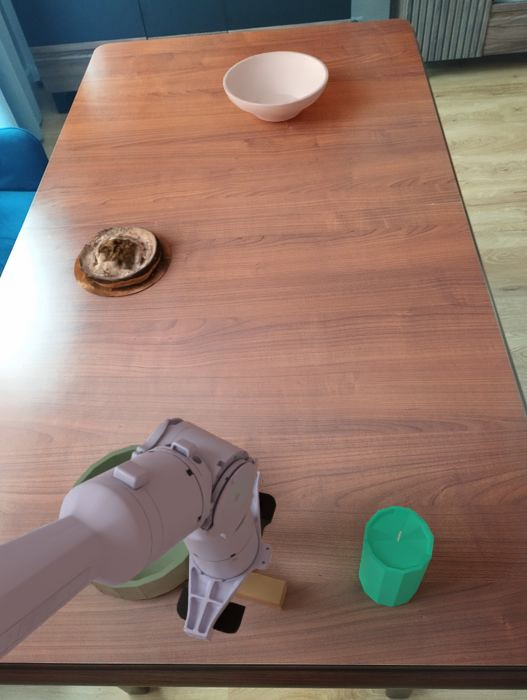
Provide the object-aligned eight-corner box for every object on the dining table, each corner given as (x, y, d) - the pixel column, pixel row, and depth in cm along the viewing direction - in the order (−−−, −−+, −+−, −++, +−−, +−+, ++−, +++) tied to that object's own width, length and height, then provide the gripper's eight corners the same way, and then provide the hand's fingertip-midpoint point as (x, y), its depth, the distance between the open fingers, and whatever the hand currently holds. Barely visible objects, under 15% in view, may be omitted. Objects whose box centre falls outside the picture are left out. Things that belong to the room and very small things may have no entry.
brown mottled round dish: (187, 241, 92) (182, 220, 89) (138, 308, 84) (130, 288, 81) (110, 221, 97) (102, 201, 93) (56, 283, 89) (46, 263, 85)
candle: (382, 619, 56) (394, 582, 47) (346, 565, 60) (350, 520, 50) (432, 585, 58) (452, 543, 48) (394, 534, 61) (406, 486, 52)
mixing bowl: (184, 620, 58) (174, 607, 54) (51, 577, 61) (32, 562, 57) (234, 481, 66) (228, 461, 62) (114, 452, 70) (102, 431, 66)
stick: (281, 610, 57) (279, 604, 56) (196, 584, 60) (192, 578, 58) (287, 587, 59) (285, 581, 57) (204, 563, 61) (200, 556, 59)
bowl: (207, 119, 113) (201, 85, 108) (271, 75, 121) (269, 42, 116) (284, 152, 104) (282, 117, 99) (348, 102, 113) (350, 67, 107)
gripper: (236, 636, 41) (254, 670, 52) (290, 456, 49) (297, 517, 60) (145, 607, 43) (181, 646, 53) (212, 438, 51) (232, 500, 62)
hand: (238, 576), depth 57 cm, fingers open, 7 cm apart
